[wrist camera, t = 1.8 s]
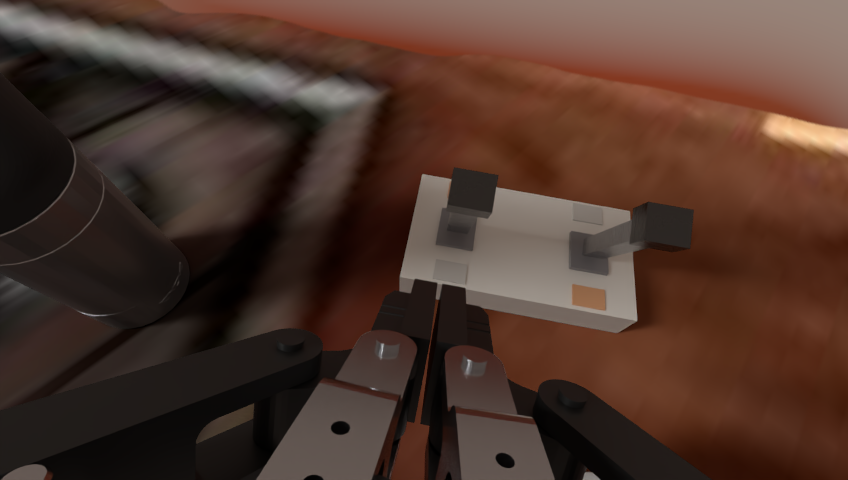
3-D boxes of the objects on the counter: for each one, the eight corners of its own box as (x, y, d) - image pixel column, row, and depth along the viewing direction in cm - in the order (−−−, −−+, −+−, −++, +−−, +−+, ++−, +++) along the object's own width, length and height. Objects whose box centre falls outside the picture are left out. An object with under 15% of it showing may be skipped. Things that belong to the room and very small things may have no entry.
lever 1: (440, 234, 40) (447, 204, 28) (445, 208, 41) (454, 167, 28) (471, 240, 40) (492, 212, 28) (476, 213, 41) (498, 175, 28)
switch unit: (399, 292, 43) (399, 274, 39) (420, 195, 48) (422, 171, 44) (617, 333, 42) (640, 319, 38) (612, 229, 48) (632, 208, 44)
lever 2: (576, 259, 40) (643, 240, 28) (579, 232, 40) (648, 201, 28) (607, 265, 40) (690, 248, 27) (611, 238, 40) (693, 210, 28)
